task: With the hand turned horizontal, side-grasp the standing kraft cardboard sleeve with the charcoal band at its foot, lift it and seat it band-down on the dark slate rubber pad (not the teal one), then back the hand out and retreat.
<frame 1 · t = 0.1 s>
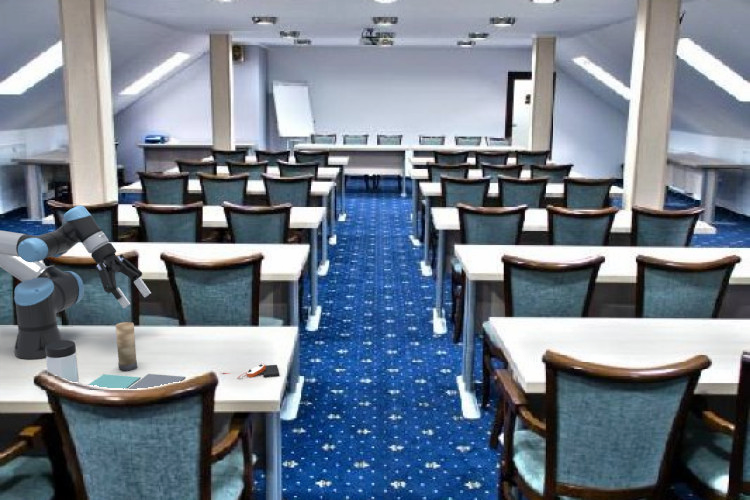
hand: (137, 300, 253), 15 cm above the table, tool tilted 35°, fingers open, 13 cm apart
jar: (64, 384, 223), on the table
teal seat: (111, 384, 222), on the table
multimeter: (248, 378, 228), on the table
banded sleeve: (128, 368, 235), on the table
slate seat: (157, 384, 222), on the table
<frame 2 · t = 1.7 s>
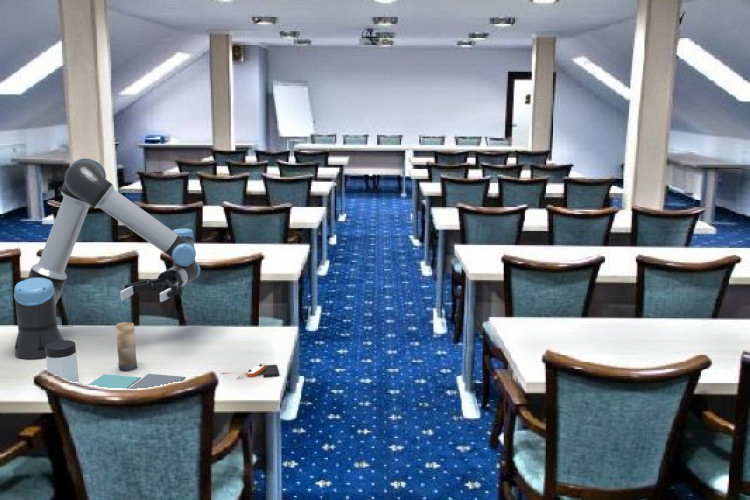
hand: (140, 296, 241), 20 cm above the table, tool horizontal, fingers open, 13 cm apart
nothing on the table moved.
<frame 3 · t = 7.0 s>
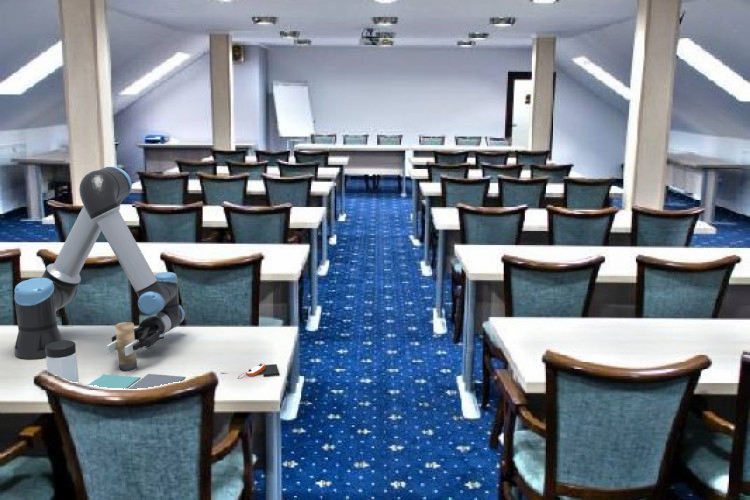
hand: (117, 350, 228), 8 cm above the table, tool horizontal, fingers closed on banded sleeve, 5 cm apart
banded sleeve: (128, 368, 235), on the table, touching gripper
everything else where it was.
when the fingers open (9 cm above the table, at t = 12.2 s): banded sleeve drops 1 cm, resting on slate seat.
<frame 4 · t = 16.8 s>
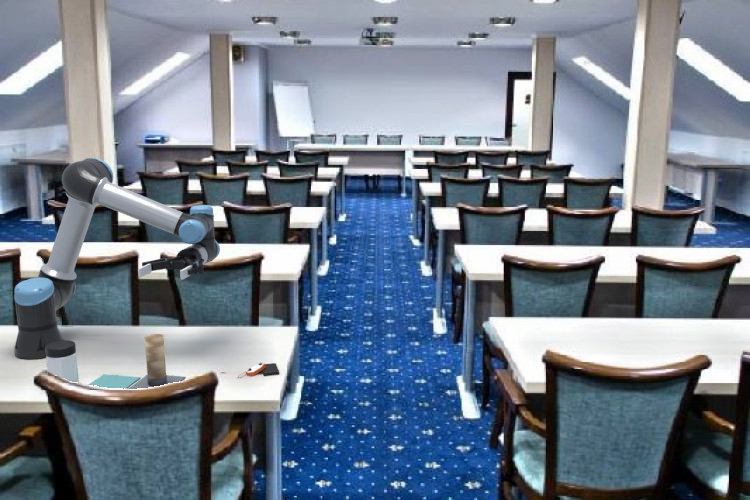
hand: (160, 274, 227), 30 cm above the table, tool horizontal, fingers open, 13 cm apart
banded sleeve: (157, 382, 222), resting on slate seat
everything else where it was.
at the end: banded sleeve inside the target area on the slate seat (0.1 cm from its centre), point 0.4 cm above the slate seat's base; banded sleeve tilted 1°; the gripper is holding nothing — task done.
